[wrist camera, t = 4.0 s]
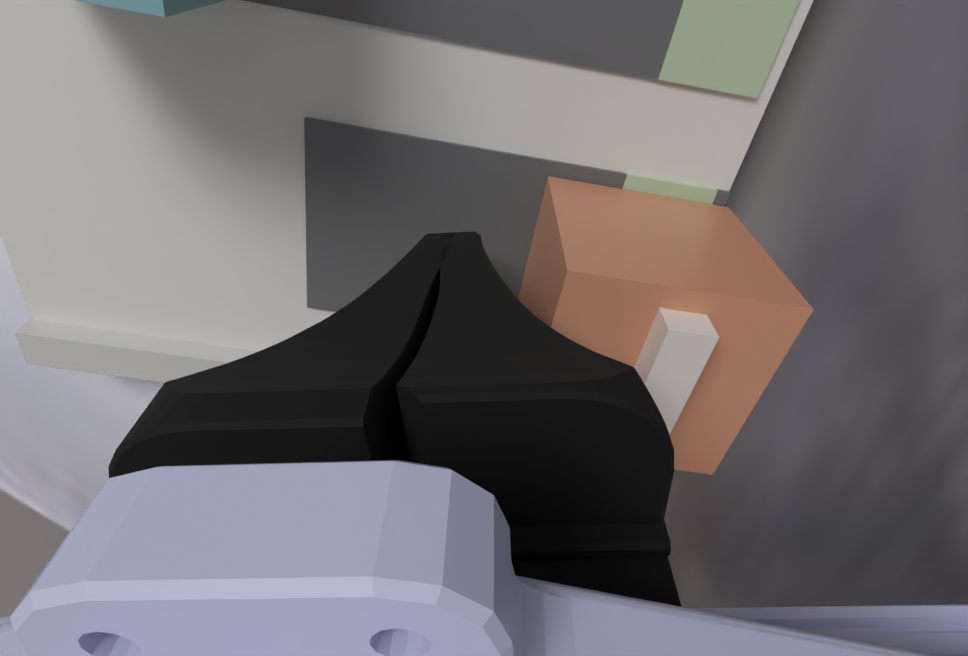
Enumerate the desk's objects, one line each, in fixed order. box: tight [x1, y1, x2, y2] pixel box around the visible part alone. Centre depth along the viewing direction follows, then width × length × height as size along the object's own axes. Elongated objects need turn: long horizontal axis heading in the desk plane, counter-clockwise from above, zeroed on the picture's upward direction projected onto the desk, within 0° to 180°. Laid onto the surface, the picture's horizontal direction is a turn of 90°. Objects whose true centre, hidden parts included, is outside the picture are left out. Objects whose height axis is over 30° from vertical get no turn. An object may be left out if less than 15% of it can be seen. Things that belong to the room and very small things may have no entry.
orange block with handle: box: [518, 176, 814, 475], centre depth 11 cm, size 4×4×5 cm
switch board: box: [0, 0, 813, 383], centre depth 12 cm, size 16×15×2 cm
